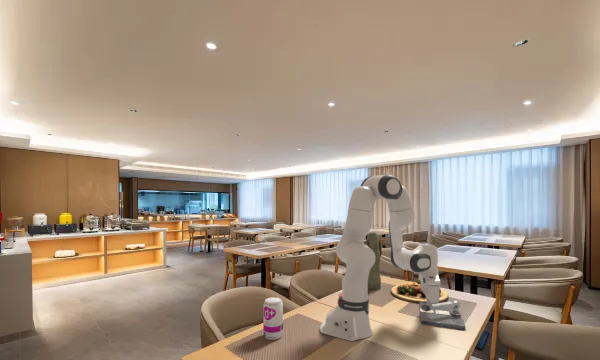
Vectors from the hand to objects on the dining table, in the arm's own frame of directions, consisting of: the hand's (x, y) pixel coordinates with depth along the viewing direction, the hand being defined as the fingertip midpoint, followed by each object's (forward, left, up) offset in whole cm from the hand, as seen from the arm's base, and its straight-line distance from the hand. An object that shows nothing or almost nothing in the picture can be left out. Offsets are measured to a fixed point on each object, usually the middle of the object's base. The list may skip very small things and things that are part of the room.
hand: (429, 305), depth 141 cm
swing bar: (+5, +1, 0) cm, 5 cm away
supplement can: (-63, -42, -6) cm, 76 cm away
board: (+5, +5, -6) cm, 10 cm away
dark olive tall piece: (-31, +40, -6) cm, 51 cm away
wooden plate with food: (-4, +36, -7) cm, 37 cm away
